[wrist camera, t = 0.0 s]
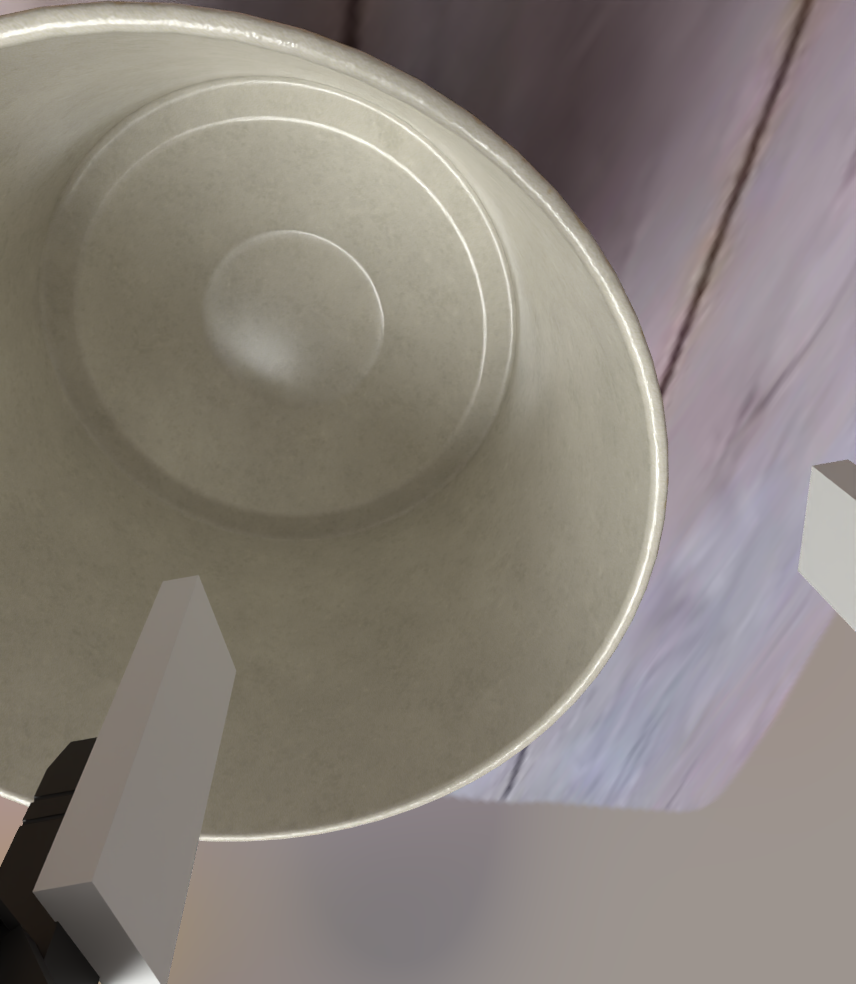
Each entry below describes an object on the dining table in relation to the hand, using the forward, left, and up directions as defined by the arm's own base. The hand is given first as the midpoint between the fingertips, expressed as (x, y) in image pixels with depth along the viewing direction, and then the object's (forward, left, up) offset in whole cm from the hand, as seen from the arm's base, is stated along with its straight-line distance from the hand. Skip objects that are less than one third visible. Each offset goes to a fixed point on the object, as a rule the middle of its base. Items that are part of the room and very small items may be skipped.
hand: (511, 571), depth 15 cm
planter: (+1, -7, -28) cm, 29 cm away
